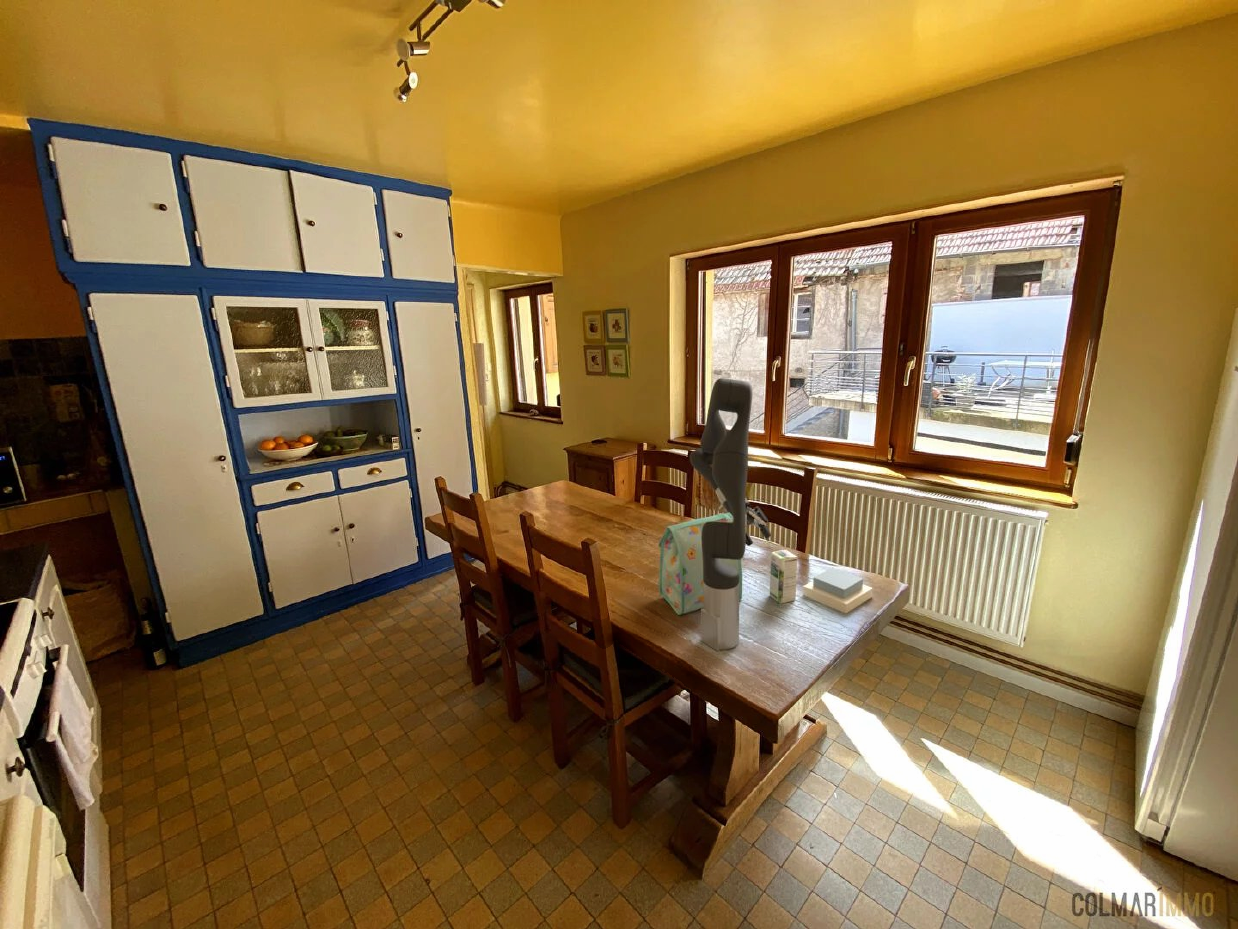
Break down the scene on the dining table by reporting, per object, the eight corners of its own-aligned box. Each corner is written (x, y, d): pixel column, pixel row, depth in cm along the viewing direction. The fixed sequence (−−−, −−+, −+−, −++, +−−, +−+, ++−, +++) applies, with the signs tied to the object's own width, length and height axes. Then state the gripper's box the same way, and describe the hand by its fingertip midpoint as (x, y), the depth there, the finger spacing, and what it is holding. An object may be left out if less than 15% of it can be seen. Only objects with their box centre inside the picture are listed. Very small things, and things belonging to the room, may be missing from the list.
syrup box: (768, 595, 156) (769, 552, 152) (785, 591, 157) (786, 548, 154) (779, 604, 150) (781, 559, 147) (796, 600, 152) (798, 556, 148)
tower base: (845, 613, 144) (847, 594, 142) (802, 594, 155) (803, 577, 153) (871, 597, 152) (873, 579, 150) (829, 580, 163) (830, 563, 161)
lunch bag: (718, 579, 167) (717, 502, 161) (747, 602, 153) (748, 518, 146) (655, 595, 160) (652, 515, 153) (680, 621, 145) (677, 533, 138)
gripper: (722, 496, 156) (751, 541, 150) (753, 486, 164) (781, 529, 158) (710, 508, 162) (737, 552, 156) (740, 498, 170) (767, 540, 164)
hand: (760, 541), depth 157 cm, fingers open, 8 cm apart
